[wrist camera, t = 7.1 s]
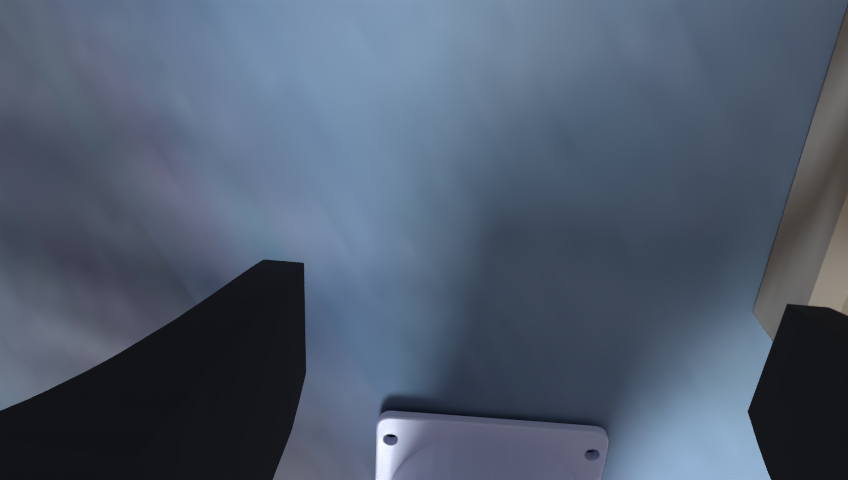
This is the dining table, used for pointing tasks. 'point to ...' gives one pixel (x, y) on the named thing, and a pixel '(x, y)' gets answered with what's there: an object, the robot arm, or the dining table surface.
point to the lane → (814, 211)
